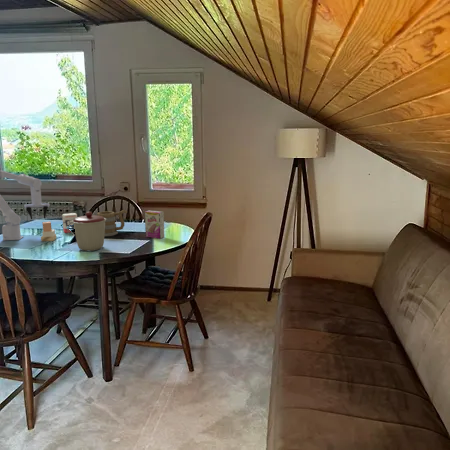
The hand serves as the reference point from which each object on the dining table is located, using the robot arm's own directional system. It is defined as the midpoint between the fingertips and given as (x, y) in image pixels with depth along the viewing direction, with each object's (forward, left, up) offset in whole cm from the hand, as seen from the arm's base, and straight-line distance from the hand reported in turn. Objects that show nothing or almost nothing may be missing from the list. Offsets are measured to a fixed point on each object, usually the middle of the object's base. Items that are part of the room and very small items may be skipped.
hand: (38, 218), depth 268 cm
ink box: (+18, +6, -11) cm, 22 cm away
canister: (+38, -41, -11) cm, 57 cm away
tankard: (+46, -4, -11) cm, 47 cm away
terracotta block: (+9, -15, -5) cm, 18 cm away
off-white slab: (+10, -15, -8) cm, 20 cm away
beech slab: (+9, -15, -11) cm, 21 cm away
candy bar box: (+73, -19, -11) cm, 76 cm away
